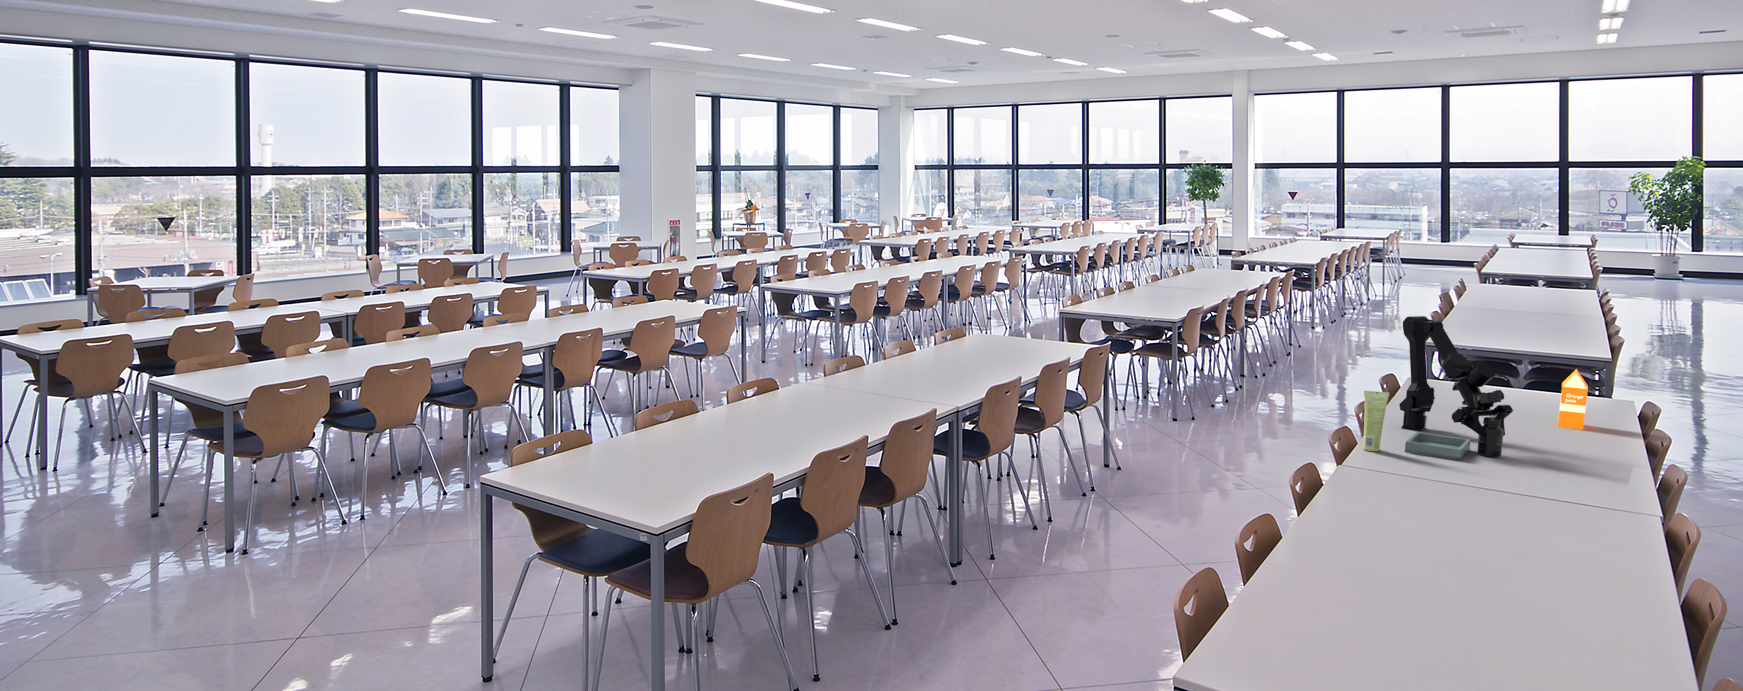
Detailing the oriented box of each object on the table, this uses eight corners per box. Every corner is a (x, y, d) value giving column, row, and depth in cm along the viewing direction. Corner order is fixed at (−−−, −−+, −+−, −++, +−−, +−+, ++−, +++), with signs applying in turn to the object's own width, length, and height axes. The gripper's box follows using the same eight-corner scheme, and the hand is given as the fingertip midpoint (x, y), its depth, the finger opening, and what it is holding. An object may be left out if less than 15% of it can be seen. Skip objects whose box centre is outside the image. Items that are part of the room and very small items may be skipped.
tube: (1371, 447, 356) (1376, 388, 352) (1384, 450, 351) (1389, 392, 348) (1359, 449, 353) (1363, 390, 350) (1372, 452, 349) (1377, 393, 345)
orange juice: (1583, 424, 386) (1589, 369, 383) (1583, 429, 379) (1590, 373, 376) (1557, 421, 391) (1563, 367, 387) (1557, 426, 383) (1563, 371, 380)
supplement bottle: (1495, 452, 350) (1499, 416, 347) (1505, 458, 343) (1509, 421, 341) (1472, 451, 350) (1476, 415, 348) (1482, 457, 343) (1486, 420, 341)
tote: (1404, 452, 350) (1405, 441, 349) (1415, 442, 362) (1416, 431, 362) (1460, 460, 340) (1461, 449, 339) (1469, 450, 352) (1470, 439, 352)
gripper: (1461, 382, 344) (1484, 424, 336) (1511, 380, 348) (1535, 421, 339) (1441, 401, 353) (1463, 442, 345) (1490, 398, 357) (1513, 439, 348)
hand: (1494, 436), depth 344 cm, fingers closed on supplement bottle, 7 cm apart
